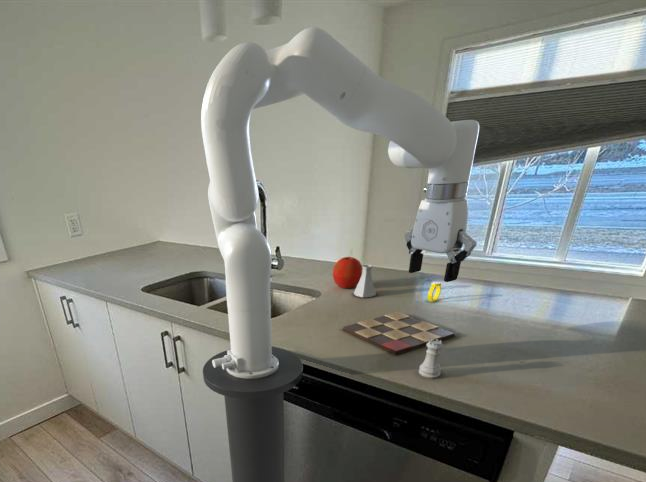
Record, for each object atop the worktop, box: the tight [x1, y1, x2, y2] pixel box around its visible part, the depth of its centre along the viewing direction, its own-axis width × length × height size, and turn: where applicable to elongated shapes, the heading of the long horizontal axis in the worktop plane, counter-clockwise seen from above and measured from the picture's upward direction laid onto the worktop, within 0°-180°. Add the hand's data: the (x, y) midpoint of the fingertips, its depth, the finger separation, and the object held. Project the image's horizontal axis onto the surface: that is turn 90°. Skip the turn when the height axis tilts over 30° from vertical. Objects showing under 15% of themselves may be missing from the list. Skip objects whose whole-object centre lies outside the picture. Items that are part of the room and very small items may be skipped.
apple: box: [332, 255, 363, 289], centre depth 147 cm, size 10×10×12 cm
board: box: [342, 311, 456, 356], centre depth 110 cm, size 20×20×1 cm
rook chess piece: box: [418, 339, 444, 379], centre depth 88 cm, size 4×4×8 cm
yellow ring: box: [427, 281, 442, 303], centre depth 128 cm, size 6×3×6 cm, turn 131°
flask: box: [353, 264, 377, 298], centre depth 138 cm, size 7×7×10 cm
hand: (431, 276), depth 91 cm, fingers open, 9 cm apart
